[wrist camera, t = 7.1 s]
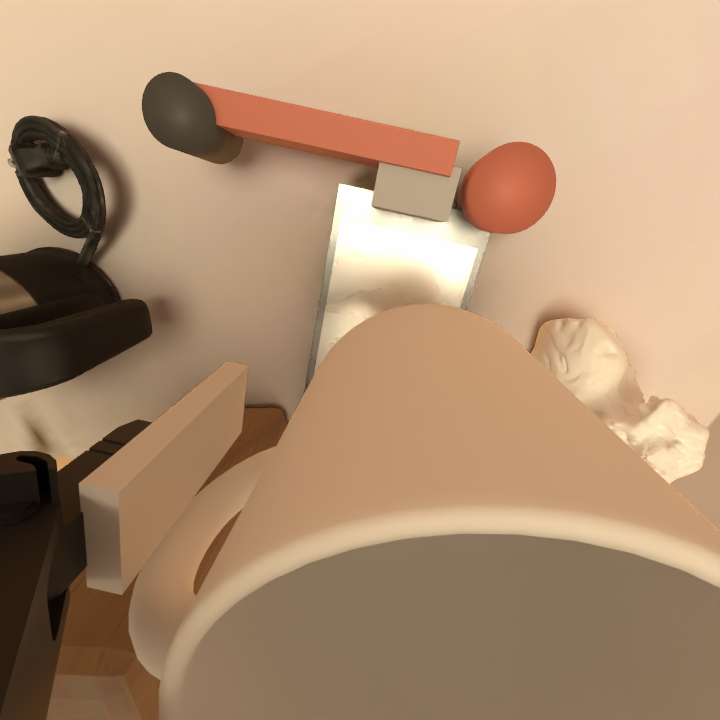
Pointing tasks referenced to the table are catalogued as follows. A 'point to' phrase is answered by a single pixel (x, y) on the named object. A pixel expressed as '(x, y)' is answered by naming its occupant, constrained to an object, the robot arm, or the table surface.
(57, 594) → the robot arm
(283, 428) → the wooden block
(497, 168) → the lever
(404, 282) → the metal tray
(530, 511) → the mug
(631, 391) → the bust
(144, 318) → the milk frother
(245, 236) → the table surface
